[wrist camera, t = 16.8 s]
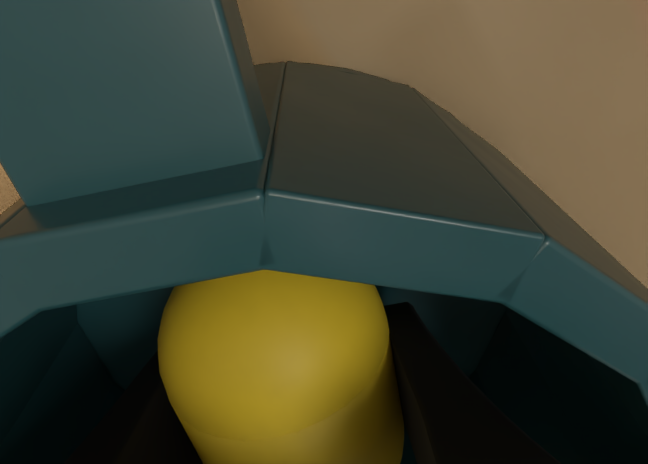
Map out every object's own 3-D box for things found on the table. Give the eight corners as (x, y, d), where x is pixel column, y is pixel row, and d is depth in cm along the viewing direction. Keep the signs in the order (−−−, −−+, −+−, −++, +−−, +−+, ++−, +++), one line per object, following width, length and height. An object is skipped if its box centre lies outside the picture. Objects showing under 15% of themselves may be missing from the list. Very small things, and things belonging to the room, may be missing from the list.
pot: (544, -176, 8) (1215, -574, 2) (521, 464, 17) (632, 719, 11) (-148, -11, 8) (-1051, 32, 3) (186, 516, 17) (130, 778, 12)
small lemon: (352, 146, 10) (389, 266, 6) (397, 409, 14) (436, 582, 10) (147, 187, 10) (47, 330, 6) (252, 433, 14) (233, 612, 10)
